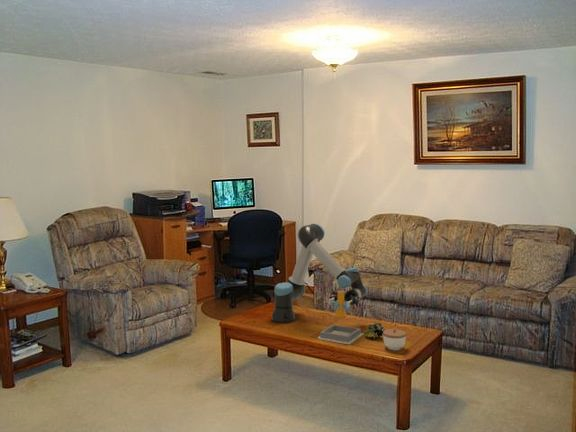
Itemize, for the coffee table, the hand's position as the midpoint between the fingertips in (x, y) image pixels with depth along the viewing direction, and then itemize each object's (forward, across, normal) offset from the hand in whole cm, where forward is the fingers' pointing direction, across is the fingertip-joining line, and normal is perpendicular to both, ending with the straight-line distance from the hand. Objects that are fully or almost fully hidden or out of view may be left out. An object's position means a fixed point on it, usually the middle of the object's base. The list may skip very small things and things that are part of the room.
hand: (338, 303), depth 334 cm
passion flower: (-12, -19, -22) cm, 31 cm away
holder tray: (-4, 0, -21) cm, 21 cm away
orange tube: (-4, 0, -9) cm, 10 cm away
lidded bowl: (-1, -34, -21) cm, 40 cm away
